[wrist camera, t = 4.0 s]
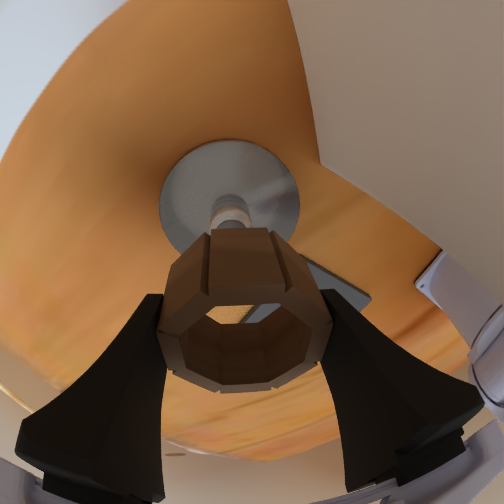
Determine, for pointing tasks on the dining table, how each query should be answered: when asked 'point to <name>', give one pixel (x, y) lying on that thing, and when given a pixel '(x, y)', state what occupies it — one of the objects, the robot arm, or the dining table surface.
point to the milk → (415, 114)
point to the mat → (323, 281)
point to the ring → (242, 293)
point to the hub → (227, 192)
